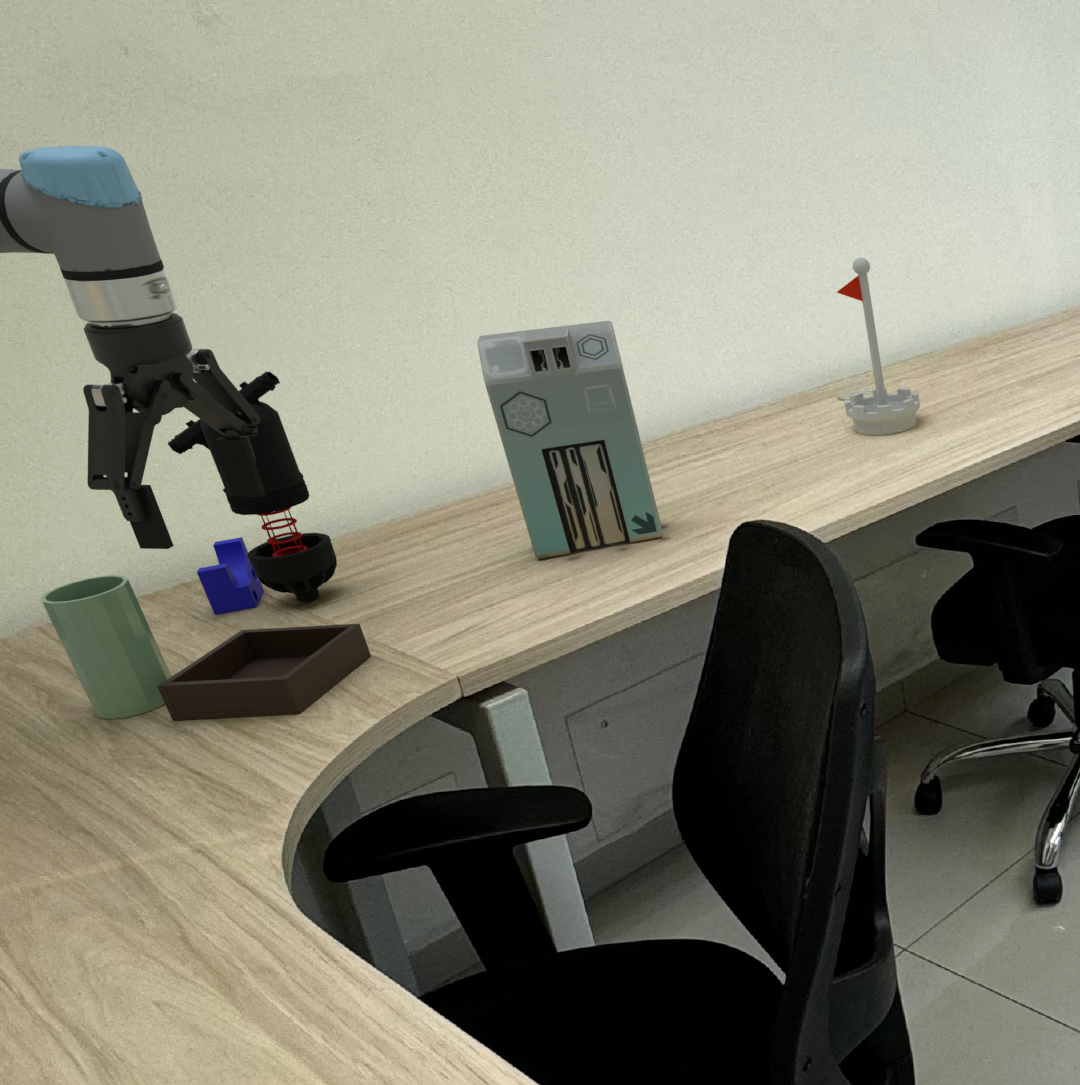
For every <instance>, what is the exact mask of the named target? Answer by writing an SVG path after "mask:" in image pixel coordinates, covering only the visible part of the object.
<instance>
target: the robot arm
mask: <svg viewBox="0 0 1080 1085" xmlns="http://www.w3.org/2000/svg"><path fill="white" fill-rule="evenodd" d="M18 163H19V166H20V169H13V168H0V254H8V253H15V254H16V253H17V254H18V253H19V254H20V253H22V254H45V255H46V254H47V255H48V254H49V255H54V256H55V259H56V262H57V264H58V267H59V269H60V272H61V275H62V278H63V280H64V283H65V286H66V289H67V291H68V294H69V296H70V299H71V302H72V305H73V308H74V310H75V312H76V315H77V317H78V318H79V319H80V320H82V321H84V322H87V323H86V324H85V325H84V327H83V332H84V334H85V337H86V340H87V342H88V344H89V347H90V349H91V351H92V355H93V357H94V359H95V361H96V362H98V363H99V364H101V365H103V366H104V367H105V368H107V369H108V371H109V375H110V382H108V383H105V384H85V385H84V386H83V388H82V391H83V395H84V398H85V402H86V405H87V406H86V407H87V408H88V420H87V421H88V426H87V428H88V430H87V433H88V434H87V483H86V484H87V486H88V488H89V489H90V490H93V491H111V492H112V493H113V494H114V496H115V499H116V501H117V504H118V506H119V508H120V510H121V514H122V517H123V518H124V519H125V520H126V521H127V522H129V524H130V526H131V528H132V531H133V534H134V536H135V539H136V541H137V543H138V546H139V549H142V550H143V549H144V550H145V549H146V550H147V549H149V550H170V549H172V547H174V543H173V540H172V538H171V535H170V532H169V530H168V527H167V525H166V521H165V519H164V516H163V515H162V511H161V509H160V506H159V504H158V501H157V499H156V496H155V493H154V491H153V488H152V486H151V484H142V483H143V479H144V475H145V470H146V465H147V461H148V457H149V452H150V448H151V445H152V444H151V443H152V440H153V435H154V430H155V426H157V425H158V424H160V423H161V421H162V419H163V416H166V415H168V414H170V413H172V411H174V410H175V409H181V408H184V409H186V410H187V411H189V412H190V413H191V414H192V415H194V416H195V417H197V418H198V419H201V420H202V421H204V422H205V423H207V424H208V425H209V426H211V427H212V428H214V429H215V430H216V431H218V432H219V433H220V434H222V435H226V437H227V438H219V439H217V440H216V441H217V444H218V447H219V450H220V453H221V455H222V458H223V461H224V464H225V467H226V470H227V472H228V475H229V478H230V481H231V484H232V487H233V489H234V492H235V495H236V497H262V496H264V495H266V493H265V490H264V487H263V485H262V482H261V479H260V476H259V473H258V470H257V467H256V464H255V462H256V457H255V454H254V451H253V449H252V445H251V443H250V440H249V437H248V436H256V435H257V434H258V428H257V427H256V426H252V425H257V424H259V422H260V417H259V415H258V414H257V413H256V411H255V410H254V409H253V408H252V407H251V405H250V404H249V403H248V402H247V401H246V399H245V398H244V397H243V396H242V394H241V393H240V392H239V389H238V388H237V387H236V385H234V384H233V382H232V381H231V380H230V379H229V377H228V376H227V375H226V374H225V373H224V371H223V370H222V369H221V367H220V366H219V363H218V361H217V359H216V357H215V354H214V352H213V351H212V350H211V349H209V348H193V344H192V341H191V338H190V336H189V333H188V330H187V327H186V324H185V322H184V319H183V317H182V316H180V315H179V314H177V313H175V311H176V310H177V308H178V307H179V306H178V304H177V301H176V298H175V295H174V293H173V289H172V287H171V284H170V282H169V279H168V276H167V273H166V270H165V264H164V263H163V259H162V258H161V256H160V252H159V249H158V246H157V244H156V241H155V237H154V234H153V232H152V229H151V225H150V222H149V218H148V216H147V212H146V208H145V205H144V202H143V196H142V192H141V191H140V190H139V189H138V186H137V184H136V182H135V179H134V177H133V175H132V173H131V170H130V167H129V166H128V164H127V162H126V159H125V158H124V157H123V155H122V154H121V153H120V152H119V151H117V150H115V149H113V148H112V147H108V146H101V145H80V146H79V145H60V146H59V145H58V146H46V147H38V148H37V147H36V148H32V149H27V150H25V151H23V152H21V153H20V154H19V156H18ZM134 410H135V411H136V412H134ZM238 411H239V412H240V413H238ZM125 474H126V476H125Z"/></svg>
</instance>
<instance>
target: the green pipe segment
mask: <svg viewBox="0 0 1080 1085" xmlns="http://www.w3.org/2000/svg"><path fill="white" fill-rule="evenodd" d="M39 599H40V601H41V603H42V606H43V607H44V610H45V612H46V614H47V616H48V618H49V619H50V620H49V621H50V623H51V624H52V626H53V628H54V630H55V632H56V635H57V637H58V638H59V641H60V642H61V645H62V646H63V649H64V651H65V653H66V655H67V657H68V659H69V661H70V663H71V665H72V667H73V670H74V671H75V674H76V676H77V678H78V680H79V682H80V684H81V686H82V688H83V690H84V692H85V694H86V697H87V699H88V700H89V703H90V705H91V707H92V709H93V711H94V713H95V716H96V717H98V718H100V719H104V720H115V719H124V718H129V717H134V716H138V715H142V714H144V713H147V712H151V711H153V710H155V709H158V708H160V707H162V706H164V705H165V703H164V700H163V698H162V696H161V694H160V692H159V689H158V687H157V686H158V685H160V684H161V683H163V682H164V681H166V680H167V679H169V678H170V677H172V675H171V672H170V670H169V667H168V665H167V664H166V661H165V659H164V656H163V654H162V652H161V650H160V647H159V645H158V643H157V641H156V639H155V637H154V634H153V632H152V630H151V627H150V625H149V623H148V620H147V619H146V616H145V614H144V612H143V610H142V607H141V605H140V602H139V601H138V598H137V596H136V593H135V592H134V589H133V587H132V585H131V583H130V580H129V579H128V577H127V576H126V575H120V574H111V575H99V576H93V577H87V578H84V579H79V580H75V581H71V582H69V583H66V584H63V585H59V586H57V587H55V588H53V589H51V590H49V591H47V592H46V593H44V594H43V595H42V596H41V597H40V598H39Z"/></svg>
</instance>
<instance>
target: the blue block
mask: <svg viewBox="0 0 1080 1085" xmlns="http://www.w3.org/2000/svg"><path fill="white" fill-rule="evenodd" d="M212 546H213V549H214V552H215V555H216V559H217V561H218V564H216V565H210V566H209V565H208V566H203V567H199V568H198V569H197V571H196V575H197V576H198V579H199V582H200V583H201V586H202V589H203V591H204V593H205V595H206V598H207V600H208V603H209V605H210V607H211V610H212V612H213V614H214V616H216V615H222V614H226V613H227V614H228V613H232V612H236V611H242V610H247V609H253V608H257V607H258V605H259V602H260V600H261V598H262V596H263V594H264V592H265V588H264V587H263V584H262V583H261V581H260V580H259V579H258V577H257V575H256V573H255V571H254V569H253V567H252V564H251V562H250V560H249V558H248V557H247V555H248V553H249V551H248V548H247V545H246V543H245V541H244V538H243V537H242V536H240V537H236V538H235V537H234V538H229V539H225V540H224V539H223V540H219V541H215V542H214V543H213V545H212Z"/></svg>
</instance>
